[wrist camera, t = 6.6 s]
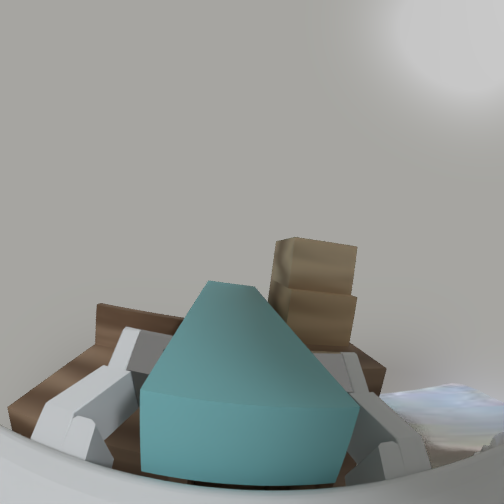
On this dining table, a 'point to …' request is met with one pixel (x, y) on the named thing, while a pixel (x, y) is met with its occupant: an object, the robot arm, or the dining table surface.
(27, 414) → the rack
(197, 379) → the slat
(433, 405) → the dining table surface
